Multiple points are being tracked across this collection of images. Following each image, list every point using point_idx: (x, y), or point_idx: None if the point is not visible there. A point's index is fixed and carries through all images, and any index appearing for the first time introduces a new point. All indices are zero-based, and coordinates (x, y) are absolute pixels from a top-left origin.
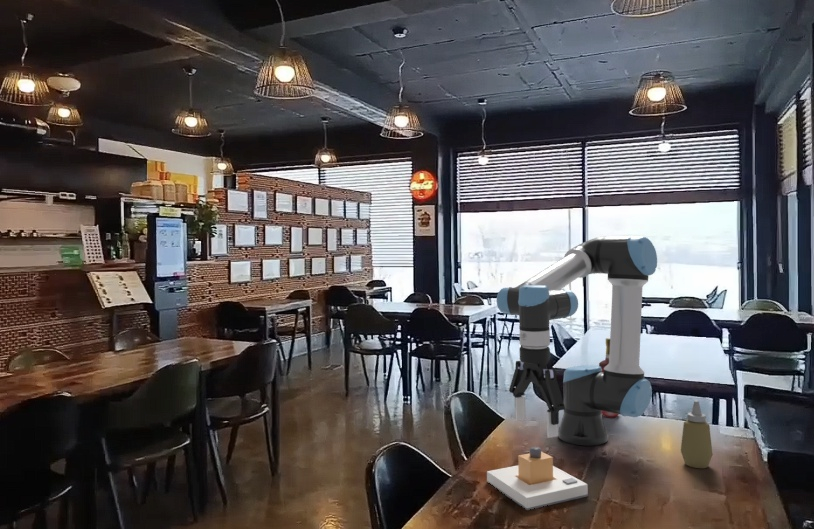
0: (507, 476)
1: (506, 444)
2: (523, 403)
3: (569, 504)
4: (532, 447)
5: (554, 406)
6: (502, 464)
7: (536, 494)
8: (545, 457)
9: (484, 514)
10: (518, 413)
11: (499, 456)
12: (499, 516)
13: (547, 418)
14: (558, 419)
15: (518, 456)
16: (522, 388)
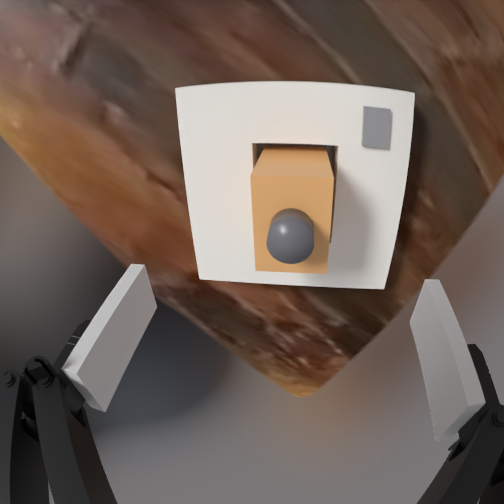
0: (251, 257)
1: (15, 102)
2: (102, 350)
3: (413, 169)
4: (273, 246)
5: (499, 463)
6: (112, 169)
7: (385, 262)
8: (320, 204)
9: (341, 336)
10: (137, 333)
11: (68, 151)
12: (364, 322)
13: (433, 401)
14: (486, 367)
15: (256, 269)
16: (95, 469)
